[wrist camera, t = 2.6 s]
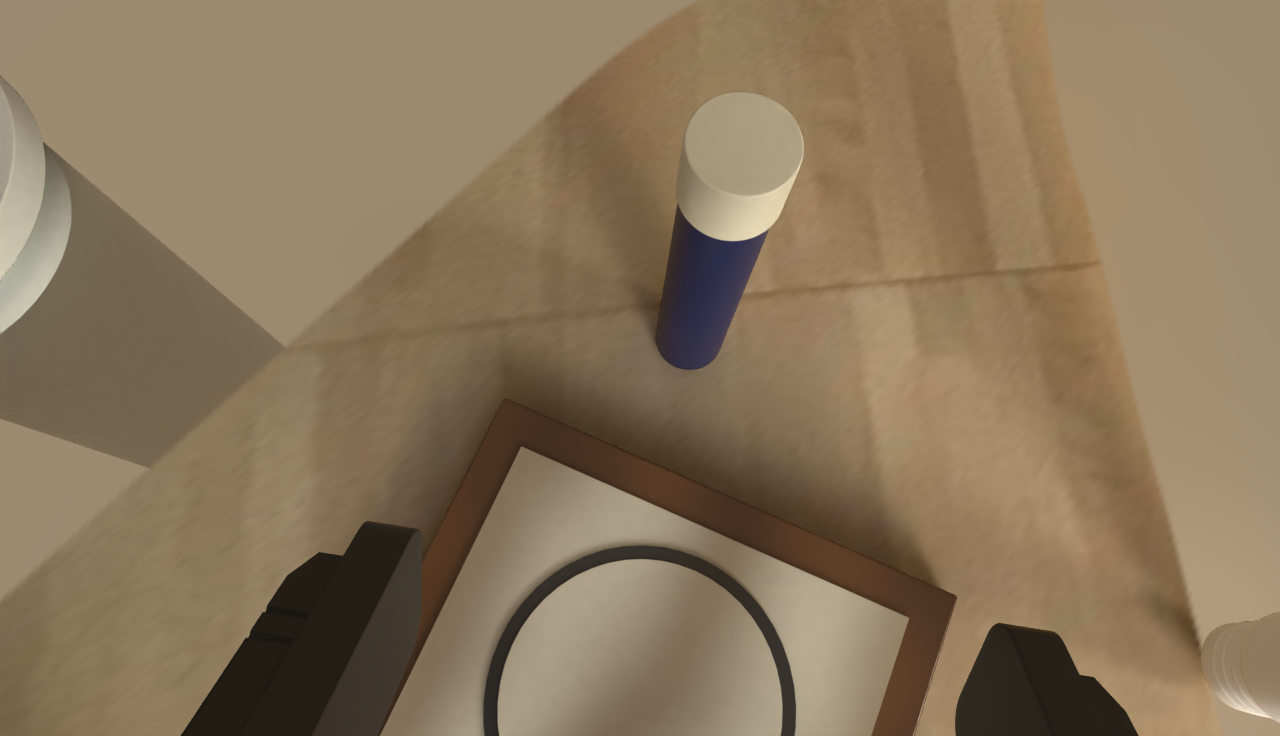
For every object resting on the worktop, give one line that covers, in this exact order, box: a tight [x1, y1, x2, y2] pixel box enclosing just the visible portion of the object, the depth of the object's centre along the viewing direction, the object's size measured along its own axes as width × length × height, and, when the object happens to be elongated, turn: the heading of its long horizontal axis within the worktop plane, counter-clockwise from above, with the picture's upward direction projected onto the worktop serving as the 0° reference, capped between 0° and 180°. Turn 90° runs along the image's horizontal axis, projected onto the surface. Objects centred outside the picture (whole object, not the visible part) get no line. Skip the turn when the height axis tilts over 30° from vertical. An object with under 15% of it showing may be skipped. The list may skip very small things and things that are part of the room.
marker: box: [656, 91, 804, 370], centre depth 22 cm, size 2×2×12 cm
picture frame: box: [378, 399, 957, 736], centre depth 24 cm, size 15×13×1 cm
